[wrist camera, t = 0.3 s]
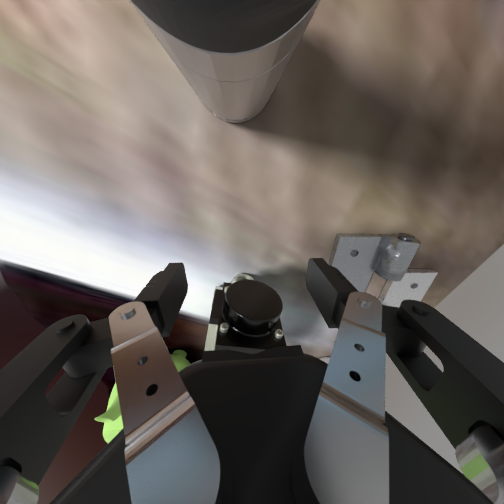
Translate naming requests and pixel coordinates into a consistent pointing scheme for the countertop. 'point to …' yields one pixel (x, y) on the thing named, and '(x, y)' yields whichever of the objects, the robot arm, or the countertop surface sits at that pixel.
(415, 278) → the loose leaf
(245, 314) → the ball valve
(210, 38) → the robot arm
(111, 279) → the countertop surface
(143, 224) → the countertop surface
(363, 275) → the fixed leaf
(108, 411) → the teapot
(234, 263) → the countertop surface
